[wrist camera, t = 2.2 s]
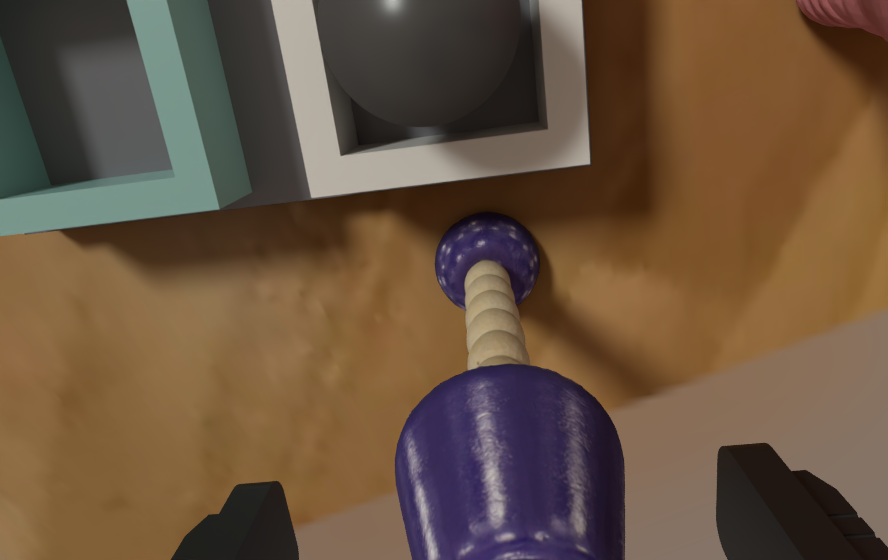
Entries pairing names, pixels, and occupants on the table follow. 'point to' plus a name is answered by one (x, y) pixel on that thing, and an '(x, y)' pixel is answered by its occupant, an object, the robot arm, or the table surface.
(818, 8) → the light bulb
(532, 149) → the multicoloured piece
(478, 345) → the toy lamp
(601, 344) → the table surface
